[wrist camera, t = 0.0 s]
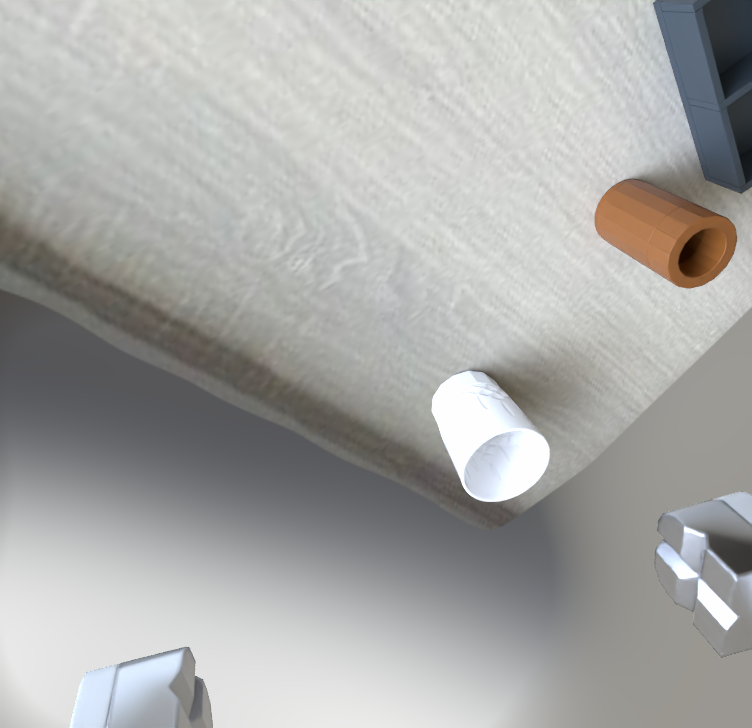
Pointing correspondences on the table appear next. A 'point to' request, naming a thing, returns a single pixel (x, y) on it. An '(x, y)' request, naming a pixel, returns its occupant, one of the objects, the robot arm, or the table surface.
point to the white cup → (488, 437)
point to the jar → (666, 232)
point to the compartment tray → (714, 81)
